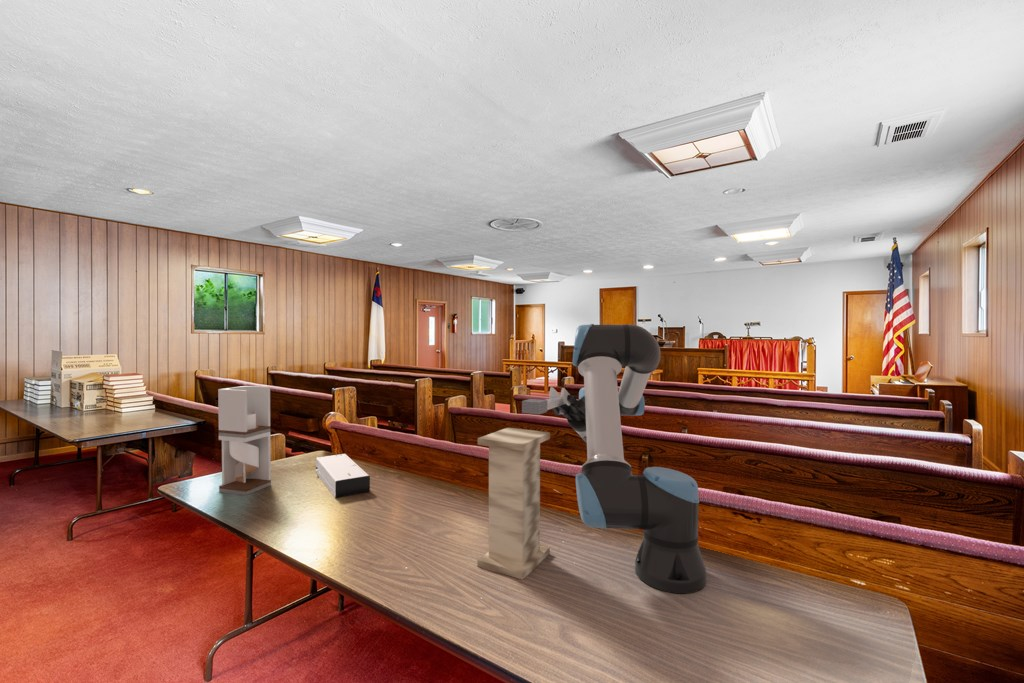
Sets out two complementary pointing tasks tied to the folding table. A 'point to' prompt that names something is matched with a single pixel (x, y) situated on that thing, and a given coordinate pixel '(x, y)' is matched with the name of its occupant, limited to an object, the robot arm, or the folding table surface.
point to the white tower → (245, 438)
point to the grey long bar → (541, 405)
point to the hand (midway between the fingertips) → (556, 391)
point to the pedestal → (514, 502)
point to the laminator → (342, 475)
